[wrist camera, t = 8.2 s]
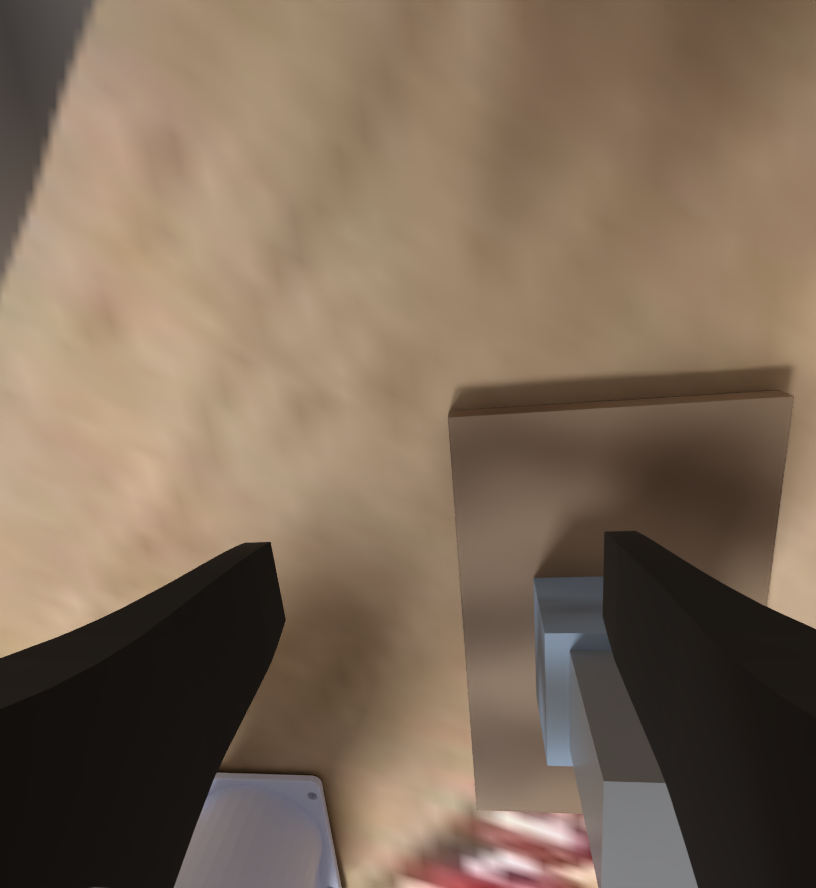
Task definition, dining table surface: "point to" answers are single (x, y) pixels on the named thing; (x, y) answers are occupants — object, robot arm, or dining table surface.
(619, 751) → the gray brick
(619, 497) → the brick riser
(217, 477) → the dining table surface
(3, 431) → the dining table surface
